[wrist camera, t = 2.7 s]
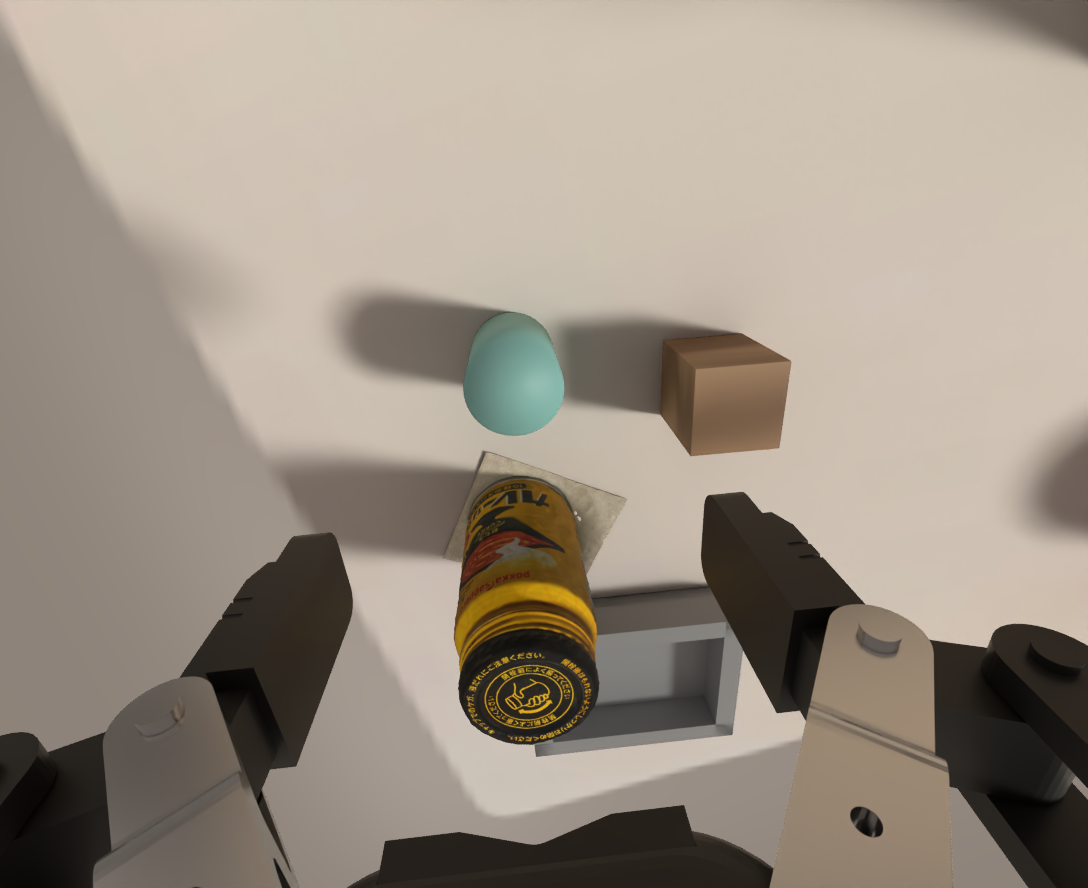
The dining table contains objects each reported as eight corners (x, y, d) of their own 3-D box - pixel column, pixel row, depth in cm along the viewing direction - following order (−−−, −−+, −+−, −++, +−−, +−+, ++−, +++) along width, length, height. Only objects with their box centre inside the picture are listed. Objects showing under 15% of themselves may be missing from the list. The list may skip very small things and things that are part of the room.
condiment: (486, 450, 28) (473, 609, 17) (626, 497, 30) (697, 668, 19) (443, 555, 30) (409, 751, 20) (574, 592, 32) (610, 790, 21)
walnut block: (662, 340, 26) (695, 369, 21) (741, 333, 26) (791, 361, 21) (660, 414, 28) (690, 456, 23) (734, 408, 28) (779, 448, 23)
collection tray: (521, 606, 32) (522, 643, 30) (726, 585, 33) (746, 619, 30) (533, 715, 36) (536, 756, 34) (715, 695, 37) (732, 734, 34)
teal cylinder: (466, 316, 25) (456, 344, 20) (550, 308, 25) (561, 335, 20) (476, 395, 26) (470, 439, 21) (555, 388, 26) (566, 431, 21)
